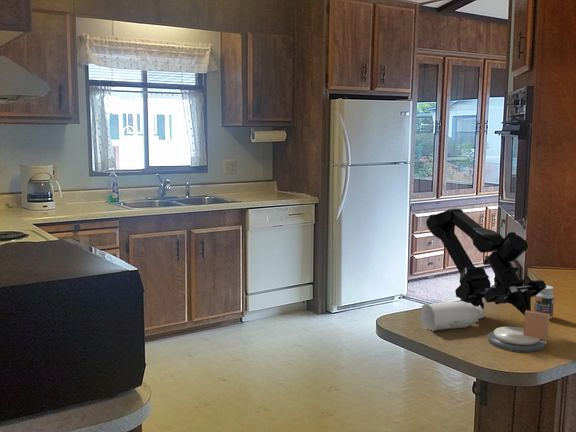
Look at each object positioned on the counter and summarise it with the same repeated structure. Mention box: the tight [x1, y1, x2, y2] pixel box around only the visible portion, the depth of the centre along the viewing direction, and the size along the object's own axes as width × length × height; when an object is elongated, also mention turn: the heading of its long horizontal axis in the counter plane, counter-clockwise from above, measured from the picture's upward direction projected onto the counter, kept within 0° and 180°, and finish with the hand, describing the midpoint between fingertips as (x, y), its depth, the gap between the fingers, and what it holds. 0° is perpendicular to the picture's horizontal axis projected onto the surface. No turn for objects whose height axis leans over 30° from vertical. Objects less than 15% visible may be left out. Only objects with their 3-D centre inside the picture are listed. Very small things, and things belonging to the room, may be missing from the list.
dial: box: [493, 310, 550, 345], centre depth 170 cm, size 14×12×8 cm
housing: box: [487, 331, 548, 353], centre depth 171 cm, size 15×15×1 cm
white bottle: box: [419, 301, 485, 332], centre depth 184 cm, size 8×19×8 cm, turn 108°
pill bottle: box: [533, 284, 555, 320], centre depth 195 cm, size 6×6×10 cm
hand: (529, 317), depth 173 cm, fingers closed
